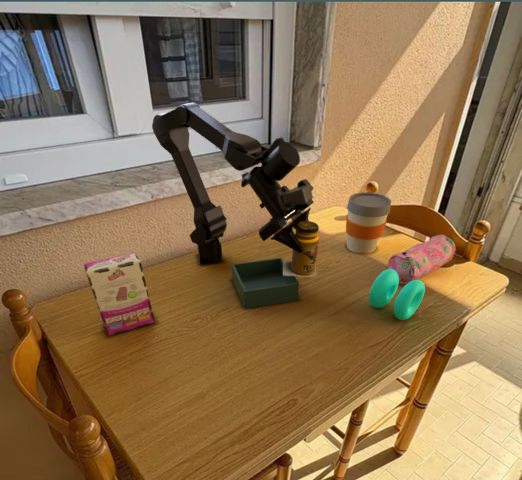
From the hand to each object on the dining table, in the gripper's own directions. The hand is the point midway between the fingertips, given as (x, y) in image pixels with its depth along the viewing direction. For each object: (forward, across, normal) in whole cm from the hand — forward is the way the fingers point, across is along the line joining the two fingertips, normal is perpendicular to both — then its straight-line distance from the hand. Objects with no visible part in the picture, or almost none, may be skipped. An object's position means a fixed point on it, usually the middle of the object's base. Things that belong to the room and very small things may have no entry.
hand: (307, 246), depth 93 cm
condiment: (+4, 0, +6) cm, 7 cm away
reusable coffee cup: (+13, +33, +6) cm, 36 cm away
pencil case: (+26, +26, -8) cm, 38 cm away
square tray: (+3, -4, +16) cm, 17 cm away
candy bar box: (-11, -34, +30) cm, 47 cm away
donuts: (+25, +3, -7) cm, 27 cm away
